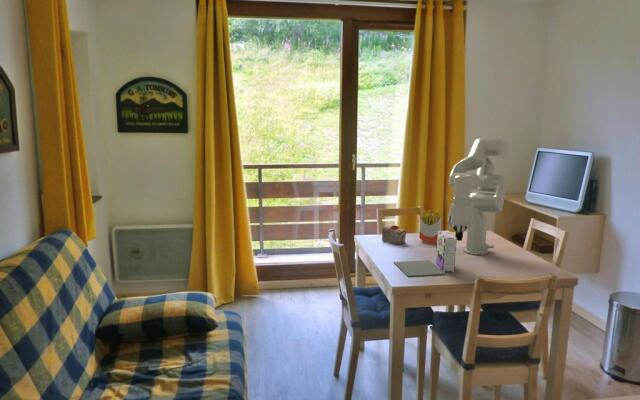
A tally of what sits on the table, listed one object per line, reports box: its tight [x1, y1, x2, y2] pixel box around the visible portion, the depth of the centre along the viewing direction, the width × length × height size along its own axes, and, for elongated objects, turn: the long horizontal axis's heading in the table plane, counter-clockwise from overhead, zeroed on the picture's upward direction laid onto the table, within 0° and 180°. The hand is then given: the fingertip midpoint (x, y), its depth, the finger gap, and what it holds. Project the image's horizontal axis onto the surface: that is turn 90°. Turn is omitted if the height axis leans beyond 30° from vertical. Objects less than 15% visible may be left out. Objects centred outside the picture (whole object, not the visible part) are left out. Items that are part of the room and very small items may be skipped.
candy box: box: [435, 230, 458, 273], centre depth 227 cm, size 14×6×16 cm, turn 179°
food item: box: [381, 225, 407, 245], centre depth 270 cm, size 14×8×10 cm, turn 46°
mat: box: [393, 259, 447, 278], centre depth 226 cm, size 18×20×1 cm
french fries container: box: [418, 209, 442, 245], centre depth 270 cm, size 5×11×18 cm, turn 55°
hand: (458, 239), depth 227 cm, fingers closed
